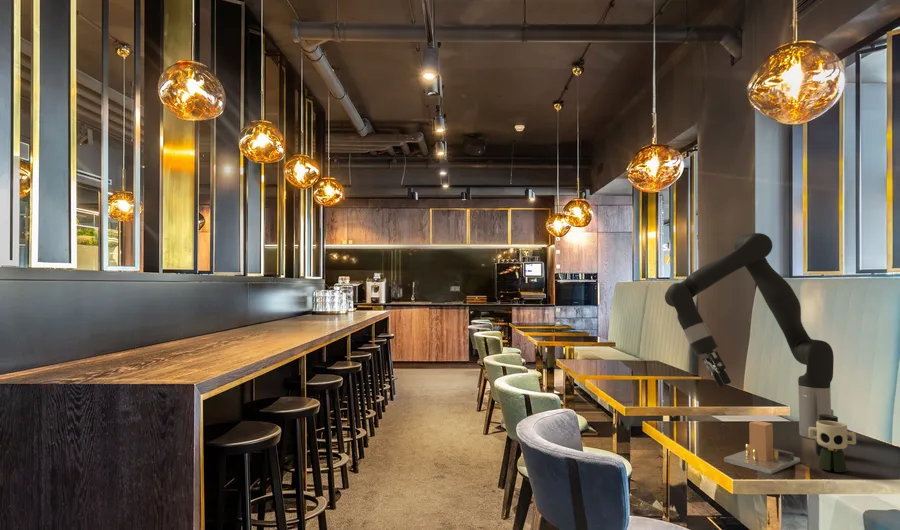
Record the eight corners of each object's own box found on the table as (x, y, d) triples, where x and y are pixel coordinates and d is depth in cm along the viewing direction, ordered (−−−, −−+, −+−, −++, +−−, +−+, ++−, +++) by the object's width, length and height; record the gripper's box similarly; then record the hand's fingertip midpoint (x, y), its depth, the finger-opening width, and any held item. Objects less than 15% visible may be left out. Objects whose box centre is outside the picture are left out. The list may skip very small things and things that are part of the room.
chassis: (753, 451, 170) (753, 437, 170) (799, 462, 160) (799, 447, 160) (723, 461, 160) (723, 447, 160) (771, 474, 149) (770, 458, 149)
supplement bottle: (834, 460, 162) (833, 419, 162) (810, 454, 168) (809, 414, 168) (847, 457, 165) (846, 416, 165) (823, 451, 171) (822, 412, 171)
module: (757, 454, 163) (756, 420, 163) (773, 458, 159) (772, 423, 160) (749, 457, 160) (749, 422, 161) (766, 461, 157) (765, 425, 157)
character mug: (808, 469, 153) (807, 422, 153) (809, 463, 158) (808, 418, 159) (857, 478, 146) (855, 428, 147) (856, 470, 152) (855, 423, 153)
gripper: (715, 331, 176) (741, 378, 170) (707, 338, 189) (731, 382, 183) (692, 339, 177) (718, 387, 171) (686, 346, 190) (710, 390, 184)
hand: (725, 384), depth 177 cm, fingers open, 8 cm apart
